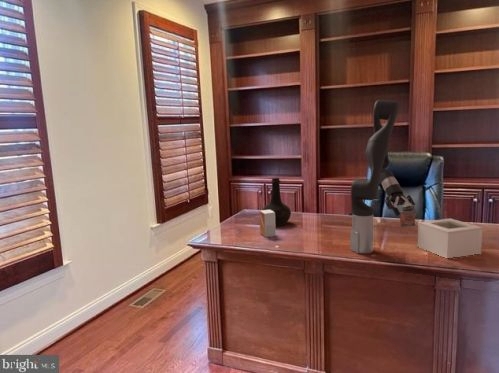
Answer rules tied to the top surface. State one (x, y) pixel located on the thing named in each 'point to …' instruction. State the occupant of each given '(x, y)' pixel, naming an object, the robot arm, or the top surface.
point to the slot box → (450, 238)
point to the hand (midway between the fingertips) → (406, 214)
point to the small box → (267, 223)
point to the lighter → (407, 216)
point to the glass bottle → (278, 204)
